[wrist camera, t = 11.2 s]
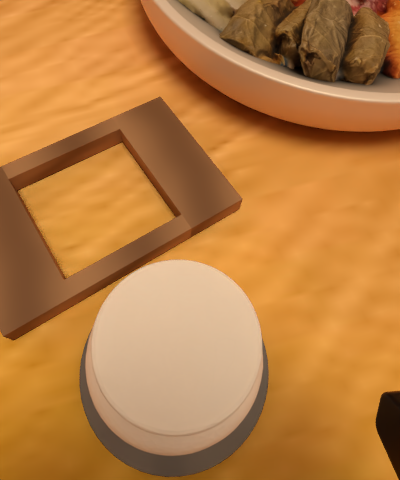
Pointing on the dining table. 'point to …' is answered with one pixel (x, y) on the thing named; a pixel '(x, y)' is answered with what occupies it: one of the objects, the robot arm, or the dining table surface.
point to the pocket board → (128, 257)
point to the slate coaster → (179, 463)
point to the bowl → (293, 56)
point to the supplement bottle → (174, 358)
